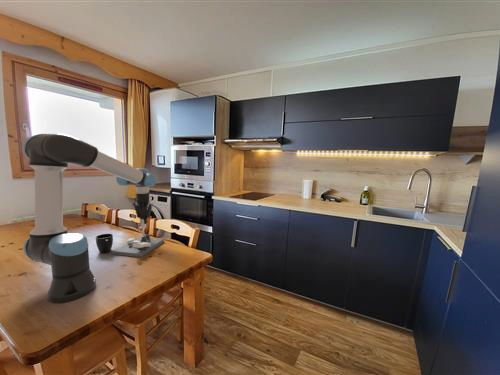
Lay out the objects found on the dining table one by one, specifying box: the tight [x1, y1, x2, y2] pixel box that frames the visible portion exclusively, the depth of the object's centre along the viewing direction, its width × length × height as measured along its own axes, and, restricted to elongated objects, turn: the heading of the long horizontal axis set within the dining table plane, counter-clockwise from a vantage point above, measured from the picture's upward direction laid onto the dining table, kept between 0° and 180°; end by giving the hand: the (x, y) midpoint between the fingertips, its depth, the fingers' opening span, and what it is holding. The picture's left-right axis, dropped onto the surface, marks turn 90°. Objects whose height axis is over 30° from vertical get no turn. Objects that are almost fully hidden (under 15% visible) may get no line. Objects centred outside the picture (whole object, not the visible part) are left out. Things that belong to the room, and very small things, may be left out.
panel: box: [112, 234, 165, 258], centre depth 129 cm, size 23×18×5 cm
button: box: [126, 237, 136, 245], centre depth 130 cm, size 4×4×2 cm
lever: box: [138, 226, 147, 239], centre depth 136 cm, size 3×3×9 cm
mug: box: [95, 233, 114, 254], centre depth 122 cm, size 8×12×10 cm
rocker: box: [133, 242, 151, 248], centre depth 122 cm, size 10×4×2 cm, turn 171°
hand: (143, 228), depth 135 cm, fingers closed
